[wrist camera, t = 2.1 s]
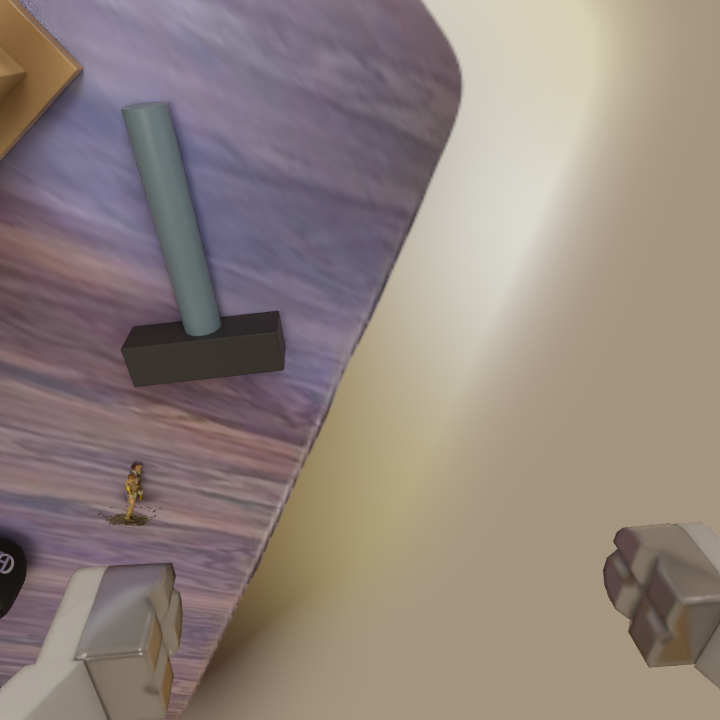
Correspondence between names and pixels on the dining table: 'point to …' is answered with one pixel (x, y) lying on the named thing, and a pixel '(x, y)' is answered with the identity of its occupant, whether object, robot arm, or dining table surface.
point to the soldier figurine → (131, 501)
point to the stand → (28, 72)
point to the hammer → (188, 278)
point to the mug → (10, 574)
